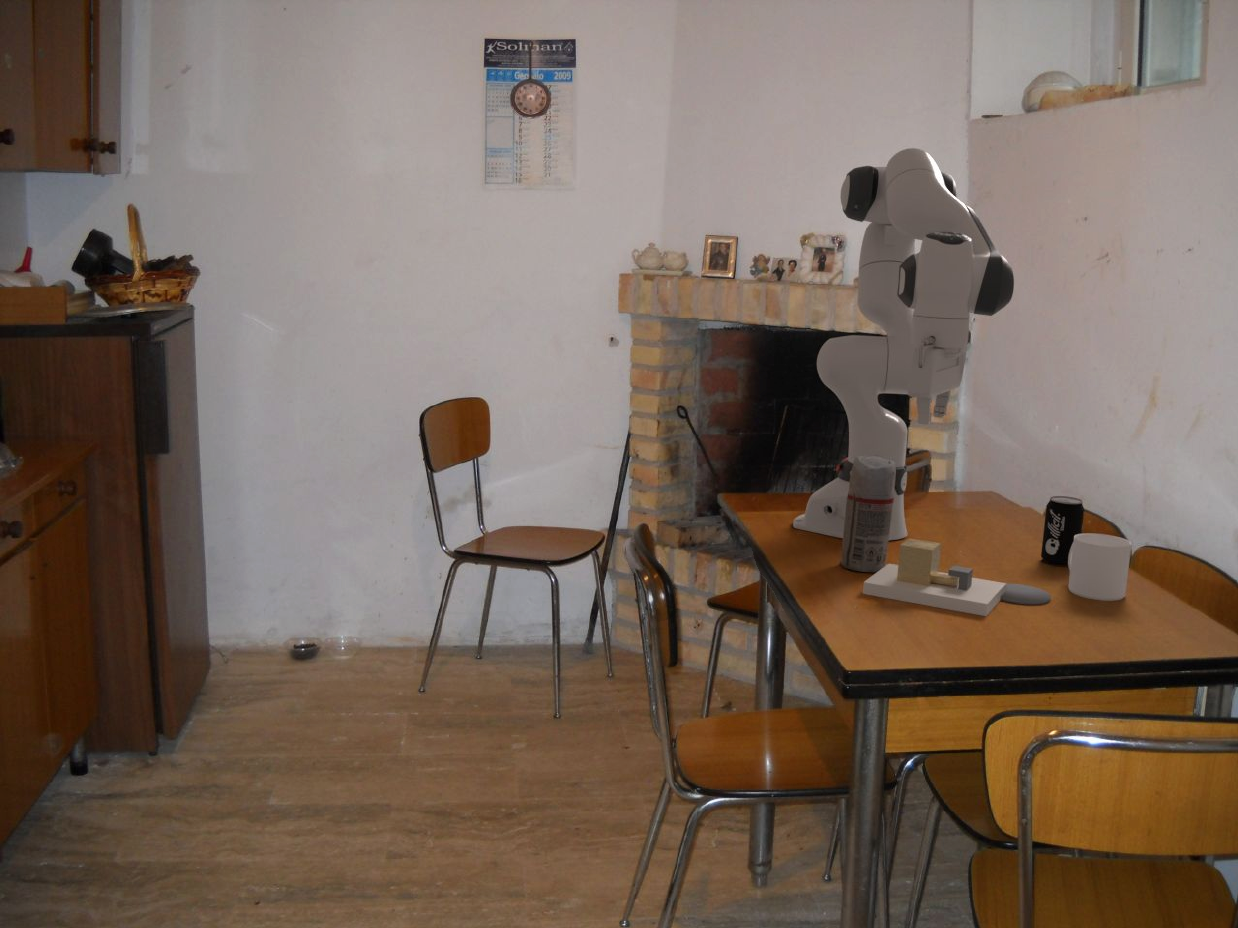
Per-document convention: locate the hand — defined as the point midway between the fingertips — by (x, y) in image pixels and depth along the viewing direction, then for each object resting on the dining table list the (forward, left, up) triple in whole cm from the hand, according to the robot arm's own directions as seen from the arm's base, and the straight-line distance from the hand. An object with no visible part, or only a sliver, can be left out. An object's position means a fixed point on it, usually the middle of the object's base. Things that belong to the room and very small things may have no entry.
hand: (931, 420), depth 195 cm
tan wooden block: (+2, 0, -27) cm, 27 cm away
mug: (+25, +19, -29) cm, 43 cm away
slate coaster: (+15, +8, -29) cm, 34 cm away
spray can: (-12, +9, -29) cm, 33 cm away
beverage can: (+17, +35, -29) cm, 49 cm away
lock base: (+3, 0, -29) cm, 29 cm away
